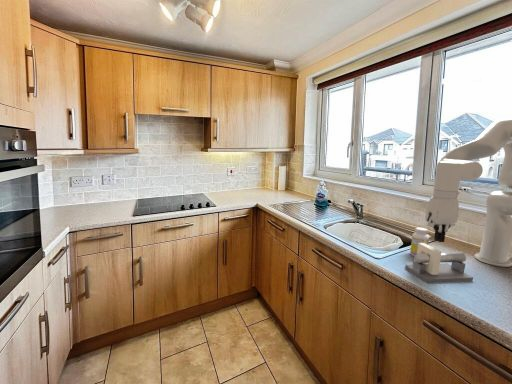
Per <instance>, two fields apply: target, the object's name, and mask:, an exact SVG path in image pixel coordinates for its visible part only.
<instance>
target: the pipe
mask: <svg viewBox="0 0 512 384" xmlns="http://www.w3.org/2000/svg"><path fill="white" fill-rule="evenodd" d="M413 257H414V260H412V261H413V262H412V265H413V267H412V269H413V270H414V271H416V272H417V273H418V274H424V271H425V264H423V263H429V261H430V254H428V253H424V254H415V256H413ZM466 260H467V256H466V254H465V253H463V252H442V253H441V259H440V264H444V263H451V264H450V265H451V268H452V269H454V270H455V271H457V272H459V273H465V269H466Z"/></svg>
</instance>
